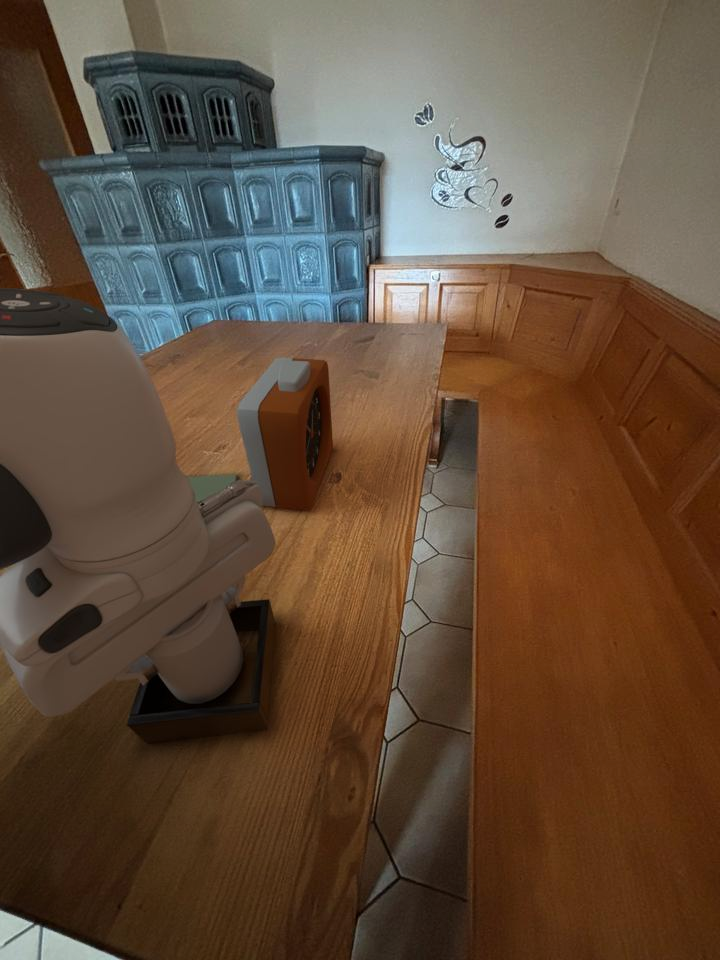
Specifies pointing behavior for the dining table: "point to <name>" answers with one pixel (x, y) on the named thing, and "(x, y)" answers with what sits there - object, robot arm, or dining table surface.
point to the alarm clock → (288, 431)
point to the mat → (210, 484)
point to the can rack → (219, 719)
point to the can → (200, 655)
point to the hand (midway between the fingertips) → (191, 638)
